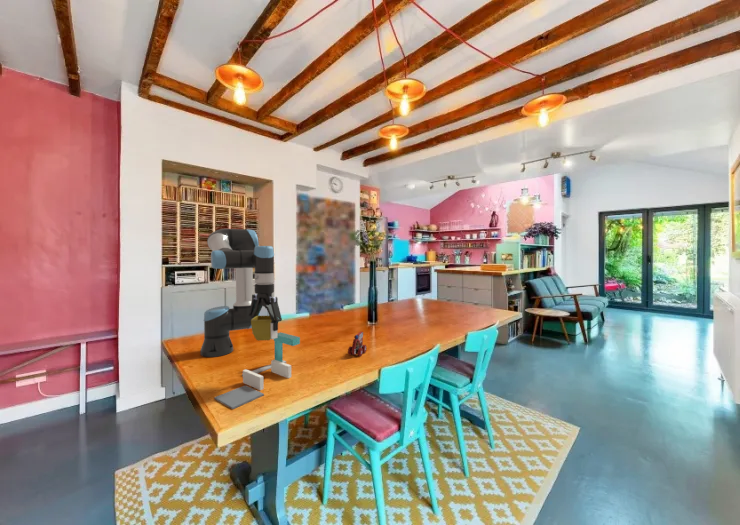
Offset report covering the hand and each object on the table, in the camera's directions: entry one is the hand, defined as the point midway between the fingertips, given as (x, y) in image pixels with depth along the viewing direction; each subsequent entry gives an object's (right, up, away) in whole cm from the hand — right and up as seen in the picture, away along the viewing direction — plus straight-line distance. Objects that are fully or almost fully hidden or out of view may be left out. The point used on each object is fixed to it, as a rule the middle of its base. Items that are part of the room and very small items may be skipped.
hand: (264, 335), depth 124 cm
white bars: (+1, -18, +5) cm, 19 cm away
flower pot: (0, -2, 0) cm, 2 cm away
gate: (+5, -17, +14) cm, 22 cm away
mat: (-4, -19, -15) cm, 24 cm away
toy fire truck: (+37, -17, +32) cm, 52 cm away
